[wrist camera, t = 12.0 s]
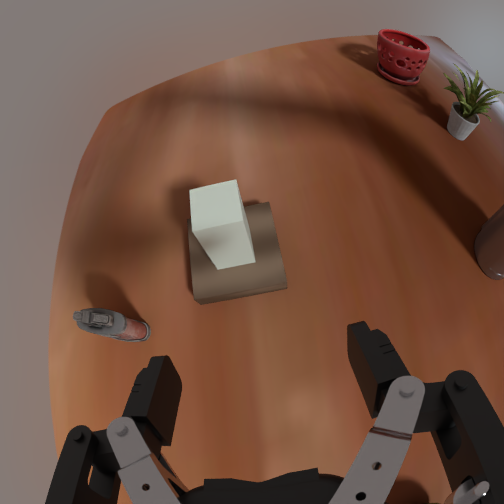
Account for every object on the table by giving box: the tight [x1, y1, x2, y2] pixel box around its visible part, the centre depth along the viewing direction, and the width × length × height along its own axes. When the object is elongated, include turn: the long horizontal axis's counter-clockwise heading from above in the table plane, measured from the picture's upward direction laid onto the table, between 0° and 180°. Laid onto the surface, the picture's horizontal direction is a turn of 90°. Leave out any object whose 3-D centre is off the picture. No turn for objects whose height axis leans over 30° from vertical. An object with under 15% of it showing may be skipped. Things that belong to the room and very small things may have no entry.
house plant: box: [444, 63, 504, 140], centre depth 39 cm, size 14×14×16 cm
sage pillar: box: [190, 180, 256, 270], centre depth 33 cm, size 5×5×11 cm
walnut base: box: [187, 202, 287, 305], centre depth 40 cm, size 12×12×3 cm
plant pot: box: [377, 29, 430, 86], centre depth 50 cm, size 13×13×12 cm
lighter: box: [73, 308, 151, 342], centre depth 34 cm, size 8×3×10 cm, turn 89°
